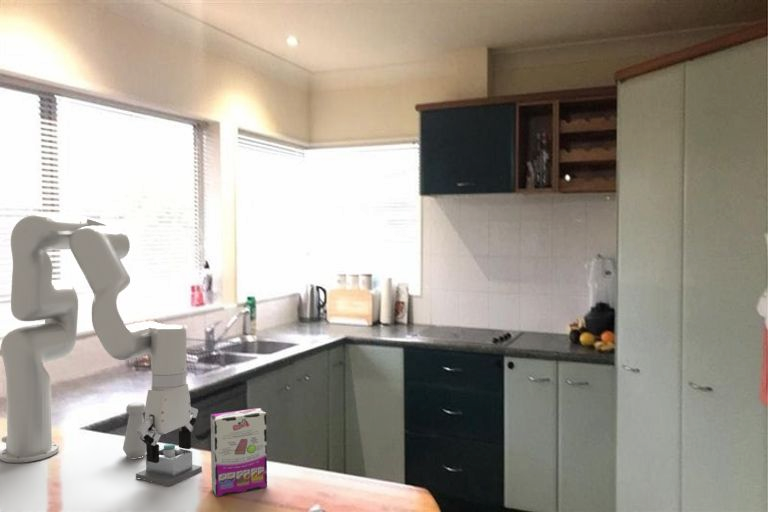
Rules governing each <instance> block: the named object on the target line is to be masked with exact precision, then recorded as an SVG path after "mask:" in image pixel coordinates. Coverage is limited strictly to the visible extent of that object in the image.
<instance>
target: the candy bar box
mask: <svg viewBox="0 0 768 512" xmlns="http://www.w3.org/2000/svg"><path fill="white" fill-rule="evenodd" d="M210 448H211V449H210V454H211V455H210V457H211V461H210V462H211V467H210V468H211V489H212V492H213V491H214V492H213V493H214V495H215V497H217V496H218V497H223V496H228V495H233V494H239V493H244V492H249V491H253V490H260V489H263V488H267V487H268V462H267V460H268V459H267V457H268V453H267V450H268V449H267V412H265V410H263V409H262V408H261V407H257V408H249V409H242V410H234V411H227V412H220V413H219V412H218V413H213V414H210Z"/></svg>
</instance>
